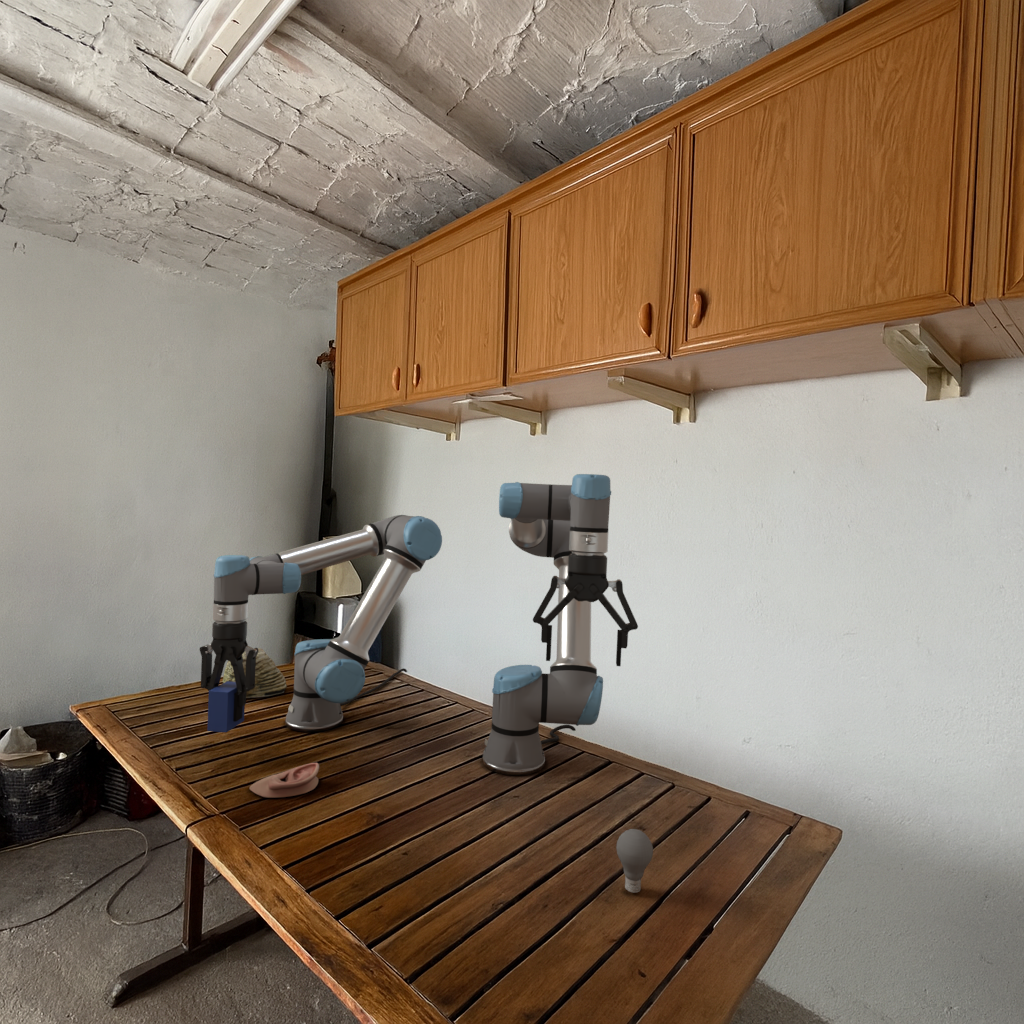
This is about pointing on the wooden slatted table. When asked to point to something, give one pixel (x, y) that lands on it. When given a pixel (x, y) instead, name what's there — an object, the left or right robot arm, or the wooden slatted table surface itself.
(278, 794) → the anatomical model
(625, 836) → the light bulb
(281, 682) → the fossil
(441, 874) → the wooden slatted table surface
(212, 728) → the brick
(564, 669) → the right robot arm
